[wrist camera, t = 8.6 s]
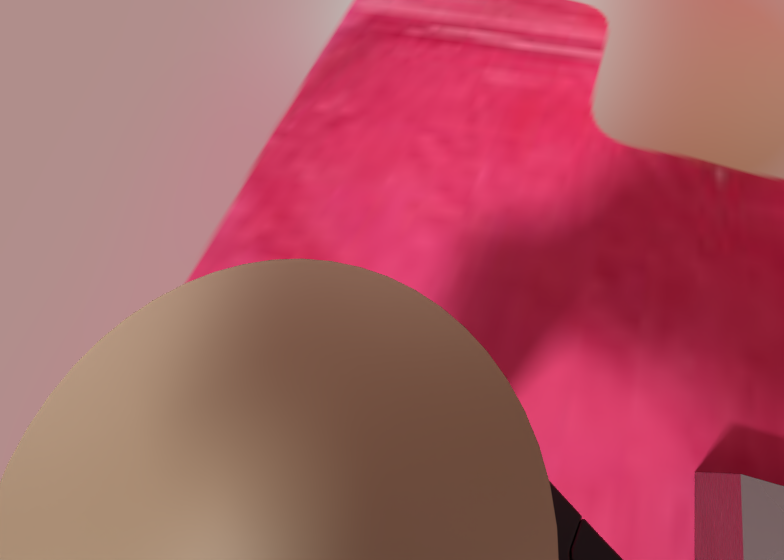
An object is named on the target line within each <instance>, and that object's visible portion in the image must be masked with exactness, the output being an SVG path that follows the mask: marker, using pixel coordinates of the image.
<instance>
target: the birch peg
mask: <svg viewBox="0 0 784 560" xmlns="http://www.w3.org/2000/svg"><path fill="white" fill-rule="evenodd" d="M0 560H559V558H558V537H557V524H556V518H555V512H554V506H553V500H552V493H551V487H550V483H549V479H548V476H547V472H546V469H545V465H544V462H543V458H542V454H541V451H540V447H539V444H538V442H537V440H536V437H535V435H534V432H533V430H532V427H531V425H530V423H529V420H528V418H527V415H526V413H525V410H524V409H523V407H522V405H521V403H520V401H519V400H518V398H517V396H516V394H515V392H514V391H513V389H512V387H511V385H510V383H509V382H508V380H507V378H506V377H505V375H504V374H503V373H502V371H501V370H500V369H499V367H498V366H497V364H496V363H495V362H494V360H493V359H492V358H491V356H490V355H489V353H488V352H487V351H486V350H485V348H484V347H483V346H482V345H481V344H480V343H479V342H478V341H477V340H476V339H475V338H474V337H473V336H472V334H471V333H470V332H469V331H468V330H467V329H466V328H465V327H464V326H463V325H462V324H461V323H459V322H458V321H457V320H456V319H455V318H453V317H452V316H451V315H450V314H449V313H447V312H446V311H445V310H444V309H443V308H442V307H440V306H439V305H437V304H436V303H434V302H433V301H431V300H430V299H428V298H427V297H425V296H424V295H422V294H420V293H419V292H417V291H416V290H414V289H412V288H410V287H408V286H406V285H404V284H402V283H400V282H398V281H396V280H394V279H392V278H390V277H387V276H385V275H382V274H379V273H376V272H373V271H370V270H367V269H364V268H361V267H357V266H352V265H347V264H342V263H338V262H333V261H323V260H311V259H282V260H268V261H262V262H255V263H249V264H243V265H239V266H235V267H232V268H228V269H224V270H221V271H217V272H213V273H211V274H208V275H206V276H203V277H201V278H198V279H195V280H193V281H190V282H188V283H185V284H183V285H181V286H179V287H177V288H176V289H174V290H172V291H170V292H168V293H166V294H164V295H162V296H160V297H158V298H156V299H155V300H153V301H152V302H150V303H148V304H147V305H145V306H144V307H142V308H141V309H139V310H138V311H136V312H135V313H133V314H132V315H130V316H129V317H127V318H126V319H125V320H124V321H122V322H121V323H120V324H119V325H117V326H116V327H115V328H114V329H113V330H111V331H110V332H109V333H108V334H106V335H105V336H104V337H103V338H102V339H100V340H99V341H98V342H97V343H96V344H95V345H94V346H93V347H92V348H91V349H90V350H89V351H88V352H87V353H86V354H85V355H84V356H83V357H82V358H81V359H80V360H79V361H78V362H77V363H76V364H75V365H74V366H73V367H72V369H71V370H70V371H69V372H68V373H67V375H66V376H65V377H64V378H63V380H62V381H61V382H60V383H59V384H58V386H57V387H56V388H55V389H54V391H53V392H52V393H51V394H50V395H49V397H48V398H47V400H46V401H45V403H44V404H43V406H42V407H41V409H40V410H39V412H38V413H37V415H36V416H35V418H34V419H33V421H32V422H31V424H30V425H29V426H28V428H27V430H26V432H25V433H24V435H23V437H22V439H21V441H20V443H19V444H18V446H17V448H16V450H15V452H14V454H13V455H12V457H11V459H10V461H9V463H8V465H7V467H6V470H5V472H4V474H3V477H2V479H1V481H0Z"/></svg>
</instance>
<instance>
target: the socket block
mask: <svg viewBox="0 0 784 560" xmlns="http://www.w3.org/2000/svg"><path fill="white" fill-rule="evenodd" d="M695 560H784V486H781V485H778V484H774V483H771V482H767V481H764V480H760V479H756V478H753V477H749V476H746V475H742V474H730V473H709V472H695Z"/></svg>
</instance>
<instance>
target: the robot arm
mask: <svg viewBox="0 0 784 560" xmlns="http://www.w3.org/2000/svg"><path fill="white" fill-rule="evenodd" d="M549 483H550V487H551V493H552V500H553V506H554V512H555V518H556V524H557V537H558V558H559V560H623V559H622V558H621V557H620V556H619V555H618V554H617V553H616V552H615V551H614V550H613V549H612V548H611V547H610V546H609V545H608V544H607V543H606V542H605V540H604V539H603V538H602V537H601V536H600V535H599V534H598V533H597V532H596V531H595V530H594V529H593V528H592V527H591V525H590V524H589V523H588V522H587V521H586V520H585V519H582V516H581V515H580V514H579V513H578V512H577V510H576V509H575V508H574V507H573V506H572V505H571V504H570V503H569V502H568V501H567V500H566V499H565V497H564V496H563V495H562V494H561V493H560V492H559V491H558V490H557V489H556V488H555V487H554V485H553V484H552V483H551V482H550V481H549ZM581 519H582V520H581Z"/></svg>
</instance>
